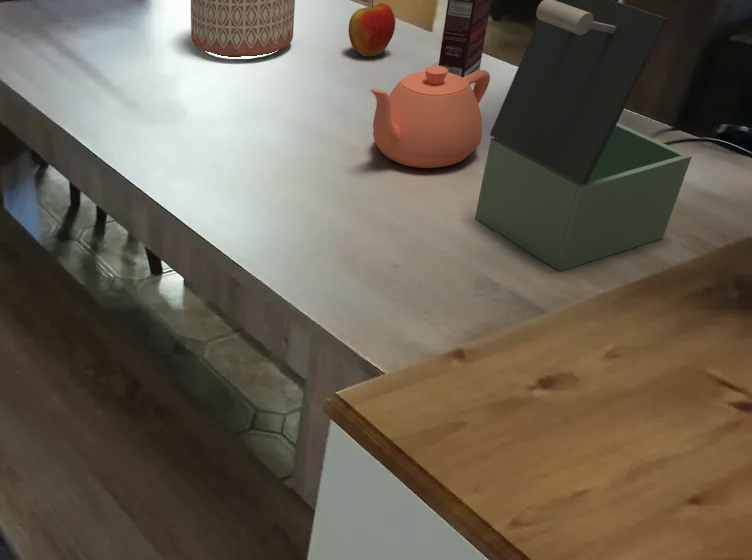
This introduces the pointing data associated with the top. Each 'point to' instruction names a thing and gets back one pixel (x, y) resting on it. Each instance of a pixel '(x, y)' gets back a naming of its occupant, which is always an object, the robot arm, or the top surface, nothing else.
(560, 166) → the lid
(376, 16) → the apple
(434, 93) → the teapot
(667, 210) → the green open box
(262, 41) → the planter
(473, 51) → the supplement box
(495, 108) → the top surface
